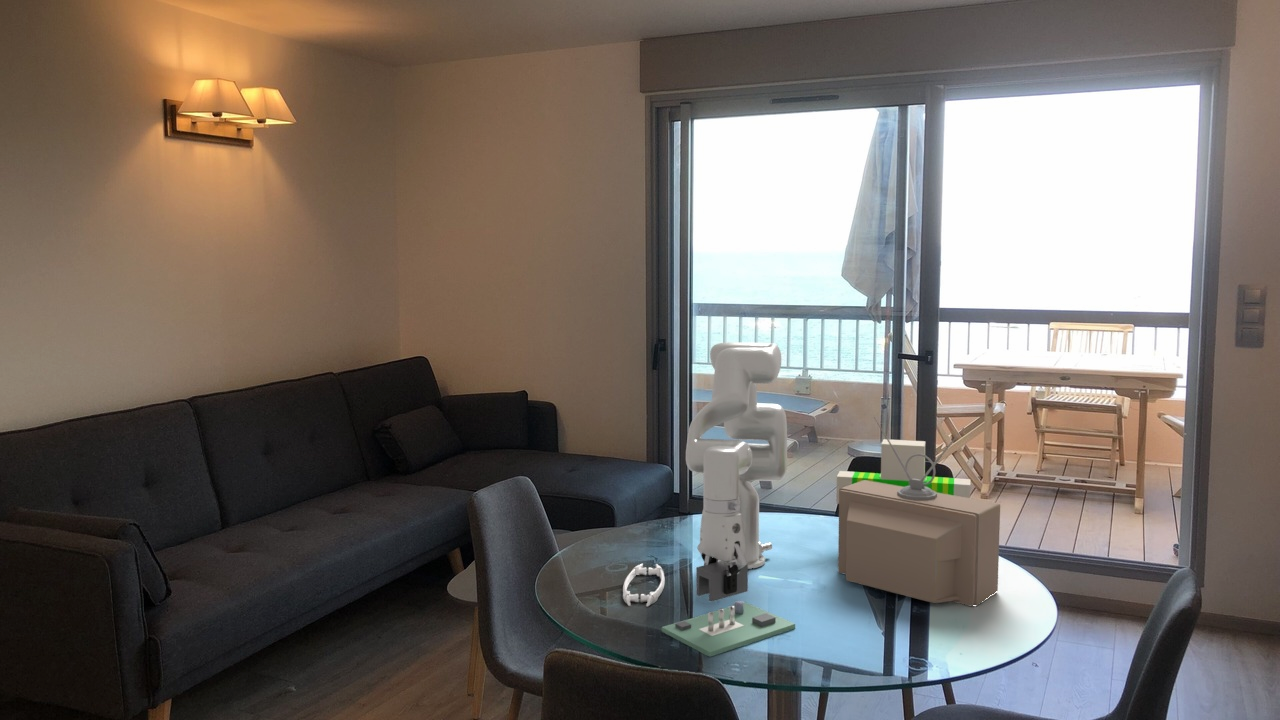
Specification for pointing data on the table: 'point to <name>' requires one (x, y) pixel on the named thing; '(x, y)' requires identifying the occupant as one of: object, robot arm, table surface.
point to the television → (919, 540)
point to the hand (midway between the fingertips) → (721, 588)
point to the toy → (896, 474)
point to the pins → (721, 618)
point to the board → (728, 629)
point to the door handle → (646, 598)
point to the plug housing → (718, 581)
